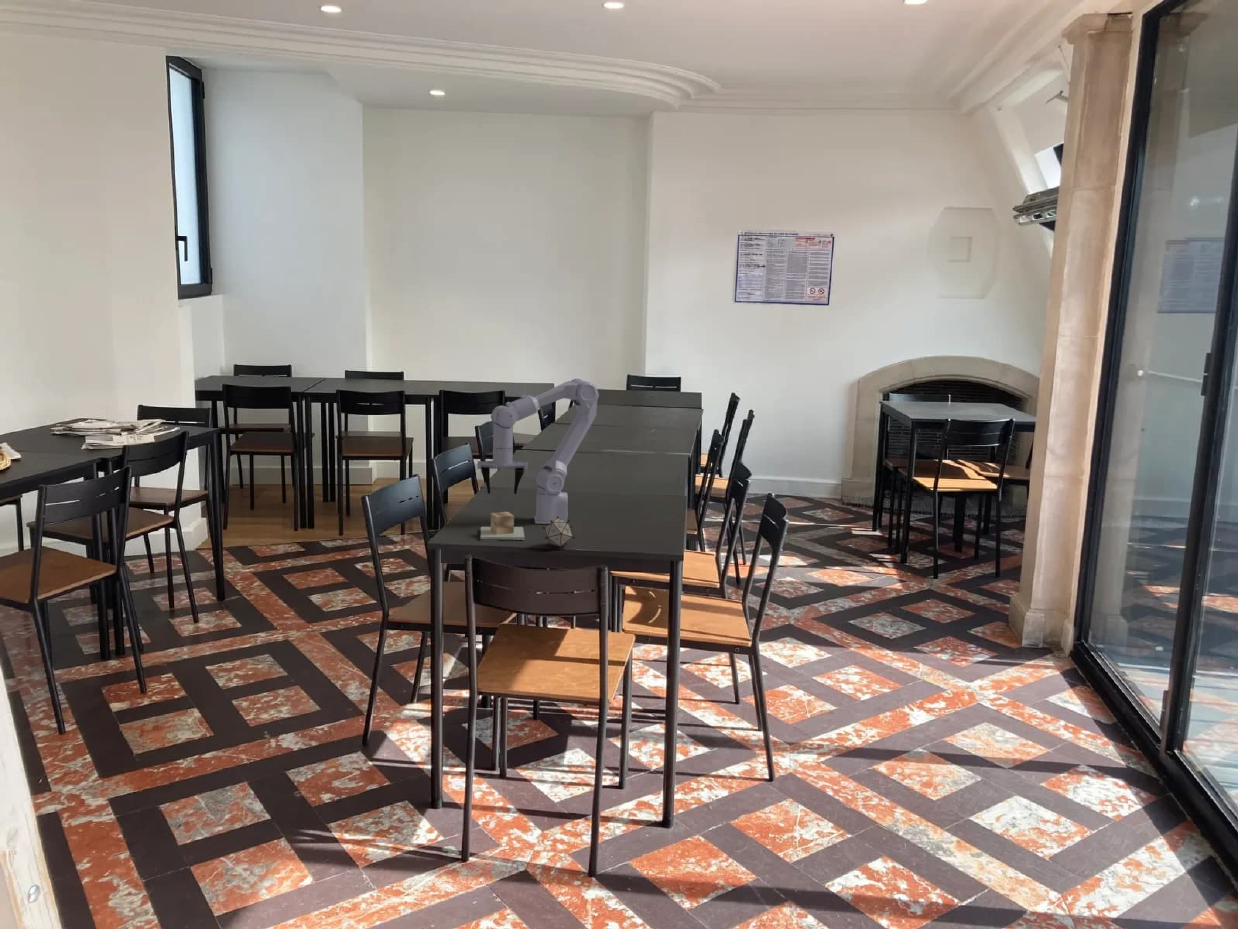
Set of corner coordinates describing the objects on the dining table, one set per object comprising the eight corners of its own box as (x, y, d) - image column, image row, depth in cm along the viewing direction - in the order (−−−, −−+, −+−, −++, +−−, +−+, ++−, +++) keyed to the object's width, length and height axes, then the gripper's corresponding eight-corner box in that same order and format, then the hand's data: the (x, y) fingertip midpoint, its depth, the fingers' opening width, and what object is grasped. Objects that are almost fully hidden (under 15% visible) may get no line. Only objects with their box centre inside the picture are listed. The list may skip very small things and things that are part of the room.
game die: (553, 558, 259) (551, 524, 264) (581, 550, 257) (578, 516, 261) (538, 548, 252) (535, 514, 256) (566, 541, 249) (563, 506, 253)
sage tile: (522, 530, 272) (522, 527, 272) (524, 540, 262) (524, 537, 261) (480, 530, 271) (480, 526, 270) (480, 540, 260) (480, 536, 260)
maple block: (507, 528, 269) (507, 511, 269) (513, 533, 265) (513, 515, 264) (490, 530, 267) (490, 513, 266) (496, 534, 263) (497, 517, 262)
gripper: (527, 445, 279) (526, 490, 281) (477, 444, 277) (477, 489, 279) (528, 449, 272) (527, 495, 275) (477, 448, 270) (477, 495, 273)
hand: (502, 493), depth 277 cm, fingers open, 7 cm apart
